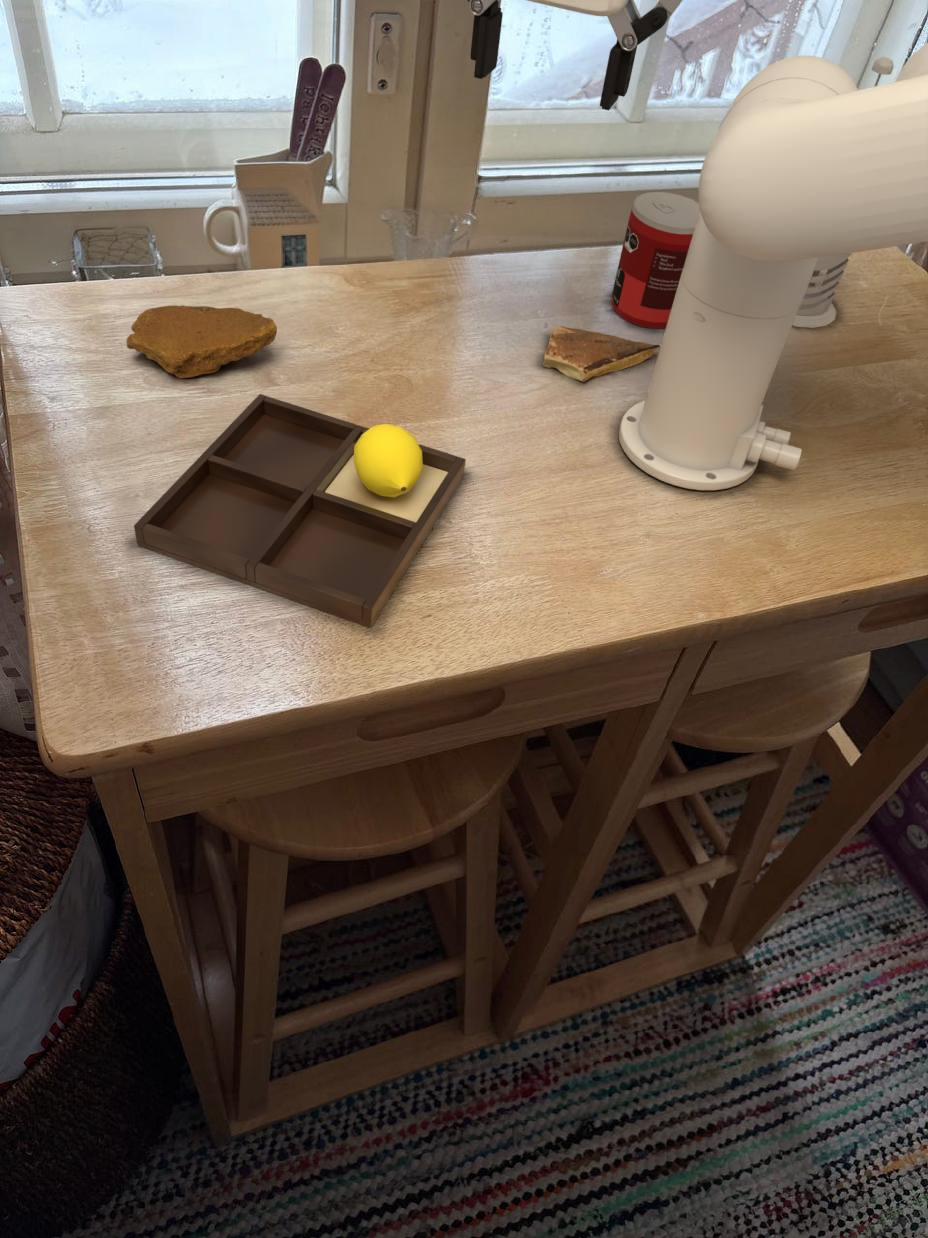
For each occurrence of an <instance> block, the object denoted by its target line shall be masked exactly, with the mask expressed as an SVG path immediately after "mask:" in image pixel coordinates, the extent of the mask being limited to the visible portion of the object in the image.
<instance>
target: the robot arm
mask: <svg viewBox="0 0 928 1238" xmlns="http://www.w3.org/2000/svg"><path fill="white" fill-rule="evenodd" d="M526 1H528V2H532V3H537V4H541V5H544V6H548V7H549V6H550V7H553V8H558V9H560V10H561V9H562V10H566V11H570V12H575V13H580V14H584V15H589V16H594V17H607V19H608V21H609V23H610V26H611V28H612V30H613V33H614V35H615V37H616V43H615V44H614V45H613V46H612V47H611V48H610V50H609V54H608V60H607V66H606V69H605V75H604V80H603V85H602V91H601V96H600V101H599V107H601V109H602V110H605V111H610V110H611V109H612V107H613V106H614V105H615V103H616V102H617V101H618V99H619V97H625V96H626V95H627V92H628V90H629V87H630V82H631V78H632V74H633V68H634V63H635V59H636V54H637V50H638V46H639V45H640V44H641V43H643V42H644V41H646V40H647V39H648V38H650V37H651V36H653V35H654V34H655V33H657V32H658V31H659V30H661V29H662V27H664V26H665V25H666V23H667V22H668V21H669V19H670V18H671V17H672V15H673V14H674V13H675V12H676V10H677V9H678V8H679V6H680V5H681V4H682V2H683V1H684V0H658V2H657V3H656V4H655V6H654V7H653V8H652V9H650V10H649V11H648V12H646V13H645V14H644V15H643V16H641V14H640V11H639V9H638V7H637V4H636V3H635V0H526ZM467 2H468V8H469V11H470V13H471V14H472V15H473V16H474V17H473V24H472V25H473V26H472V37H471V46H470V56H469V57H470V60H471V61H475V63H474V72H473V77H474V78H475V79H480V80H482V79H484V78H486V77H487V76H489V75H490V74H491V73H492V72H493V71H494V70H495V69H497V64H498V57H499V50H500V42H501V41H500V39H501V33H502V32H501V31H502V23H503V15H504V12H503V11H502V7H499V0H467ZM697 189H698V190H697V198H698V199H697V200H698V203H699V207H700V213H699V216H698V220H697V223H696V227H695V230H694V233H693V237H692V240H691V243H690V246H689V250H688V254H687V257H686V261H685V264H684V268H683V271H682V274H681V277H680V281H679V284H678V288H677V291H676V295H675V298H674V302H673V305H672V309H671V312H670V316H669V319H668V323H667V326H666V328H665V330H664V334H663V338H662V341H661V344H660V348H659V351H658V355H657V359H656V361H655V365H654V369H653V372H652V376H651V379H650V383H649V387H648V390H647V393H646V398H645V399H644V400H641V401H639V402H638V403H635V404H634V405H633V406H631V407H630V408H628V409H627V410H626V411H625V413H624V415H623V416H622V418H621V422H620V425H619V429H618V438H619V444H620V446H621V448H622V450H623V452H624V454H625V455H626V456H627V457H628V459H629V460H630V461H631V462H632V463H633V464H634V465H635V466H637V467H638V468H639V469H641V470H642V471H643V472H645V473H646V474H648V475H649V476H651V477H653V478H655V479H657V480H659V481H661V482H663V483H667V484H668V485H669V484H670V485H672V486H675V487H679V488H684V489H687V490H696V491H718V490H725V489H726V490H727V489H730V488H733V487H736V486H738V485H741V484H742V483H744V482H746V481H747V480H748V479H749V478H751V477H752V476H753V474H754V473H755V471H756V469H757V466H758V464H759V461H764V462H767V463H771V464H774V466H778V467H782V468H785V469H788V470H791V471H795V470H796V469H797V467H798V464H799V461H800V459H801V456H802V452H803V448H800V447H797V446H793V445H790V444H789V441H790V438H791V435H792V434H791V433H792V432H791V431H788V430H787V431H786V430H784V429H781V428H780V429H779V428H774V427H771V426H767V425H766V422H764V421H762V420H760V419H761V415H762V412H763V409H764V405H763V402H764V400H765V397H766V394H767V391H768V389H769V386H770V384H771V381H772V379H773V376H774V374H775V371H776V368H777V365H778V363H779V360H780V358H781V355H782V353H783V350H784V347H785V345H786V342H787V339H788V337H789V335H790V332H791V330H792V327H793V326H792V325H793V322H794V319H795V317H796V314H797V312H798V309H799V307H800V305H801V303H802V300H803V298H804V295H805V292H806V290H807V287H808V285H809V282H810V280H811V277H812V274H813V272H814V269H815V266H816V264H817V261H818V259H819V257H824V256H832V255H839V254H846V253H859V252H865V251H873V250H881V249H887V248H893V247H899V246H906V245H913V244H921V243H926V242H928V42H925V44H924V45H922V46H921V47H919V49H918V50H916V51H915V52H914V53H913V54H912V55H911V56H910V57H909V58H908V59H907V61H906V62H905V64H903V66H902V68H901V69H900V71H899V73H898V75H897V77H896V79H895V81H894V82H893V81H892V82H889V83H884V84H881V85H877V86H876V87H874V86H872V87H867V88H863V89H858V87H857V85H856V83H855V82H854V80H853V78H852V77H851V76H850V75H849V74H848V72H846V71H845V70H844V69H843V68H842V67H841V66H839V65H838V64H836V63H835V62H833V61H831V60H829V59H827V58H823V57H820V56H816V55H815V56H814V55H795V56H789V57H786V58H783V59H780V60H777V61H775V62H772V63H771V64H769V65H767V66H766V67H764V68H763V69H761V70H760V71H759V72H758V73H756V74H755V75H754V76H753V77H751V79H749V80H748V81H747V82H746V83H745V84H744V86H743V87H742V88H741V89H740V91H739V92H738V93H737V95H736V96H735V98H734V99H733V100H732V102H731V105H730V106H729V108H728V109H727V111H726V113H725V115H724V117H723V118H722V121H721V124H719V127H718V130H717V132H716V134H715V136H714V138H713V140H712V141H711V144H710V146H709V147H708V151H707V153H706V155H705V158H704V160H703V163H702V166H701V169H700V173H699V179H698V187H697Z"/></svg>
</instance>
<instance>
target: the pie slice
mask: <svg viewBox="0 0 928 1238" xmlns="http://www.w3.org/2000/svg"><path fill="white" fill-rule="evenodd" d="M660 347H661V344H652V343H649V342H648V343H647V342H643V341H636V340H631V339H626V338H624V337H619V336H616V335H611V334H607V333H601V332H599V331H598V332H597V331H592V330H587V329H581V328H573V327H572V328H571V327H567V326H562V325H561V326H555V327H553V328H552V330H551V333H550V336H549V340H548V346H547V348H546V349H545V352H544V358H543V362H542V366H543V367H545V368H555V369H556V370H558V371H559V372H560V373H562V374H564V376H566V377H569V378H571V379H573V380H576V381H579V382H583V383H586V381H588V380H590V379H591V378H596V377H601V376H603V375H606V374H609V373H614V372H619V371H622V370H624V369H627V368H630V367H633V366H637V365H639V364H641V363H643V362H645V361H646V360H648V359H651V357H653V354H654V353H655V351H656V350H659V349H660Z"/></svg>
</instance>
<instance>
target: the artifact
mask: <svg viewBox="0 0 928 1238" xmlns="http://www.w3.org/2000/svg"><path fill="white" fill-rule="evenodd" d="M130 328H131V330H132V332H133V333H130V334H129V335H128V336H127V338H126V347H127V349H129V350H135V351H137V352H139V353H142V354H144V355H145V356H146V358H147V359H149V360H153V361H154V362H157V363H158V365H160V366H161V367H162V368H163V369H164V371H165V372H167V373H169V374H171V375H173V376H175V377H176V378H179V379H187V378H194V377H198V376H201V375H206V374H207V375H209V374H213V373H216V372H218V371H219V369H220V368H221V367H222V366H225V365H226V364H229V363H230V362H232V361H234V362H237V361H240V359H243V358H245V357H251V356H252V355H253V354H257V353H258V352H259V351H260V350H262V349H264V348H265V347H267V346H270V345H271V343H273V342H274V341H275V340H276V336H277V333H278V327H277V325H276V323H275V321H274V319H272V318H270V317H265V316H263V315H262V313H254V312H250V311H245V310H243V309H242V308H238V307H223V308H222V307H213V306H207V305H202V306H201V305H199V306H197V305H195V306H191V305H164V306H158V307H157V306H156V307H151V308H148V309H146V310H145V311H143V312H141V313H140V314H139V315H138V316H137V317H136V319H135V321H134V322H133V323H132V325H131V327H130Z"/></svg>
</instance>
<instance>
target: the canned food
mask: <svg viewBox="0 0 928 1238" xmlns="http://www.w3.org/2000/svg"><path fill="white" fill-rule="evenodd" d="M699 213H700V207H699V201H696V200H694V199H692V198H690V197H687V196H683V195H680V194H677V193H671V192H665V191H664V192H663V191H661V192H660V191H652V192H645V193H642V194H639V195H638V196H636V197H635V199H633V203H632V205H631V209H630V214H629V217H628V222H627V226H626V230H625V234H624V239H623V243H622V248H621V253H620V257H619V260H618V266H617V269H616V274H615V278H614V282H613V287H612V290H611V291H612V292H611V295H610V296H611V306H612V309H613V310H614V312H615V313H616V314H617V315H618V316H619V317H621V318H622V319H623V320H625V321H627V322H628V323H630V324H633V325H635V326H638V327H643V328H648V329H666V326H667V323H668V319H669V316H670V312H671V309H672V305H673V302H674V298H675V295H676V291H677V288H678V284H679V281H680V277H681V274H682V271H683V268H684V264H685V261H686V257H687V254H688V250H689V246H690V243H691V240H692V237H693V233H694V230H695V227H696V223H697V220H698V216H699Z"/></svg>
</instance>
